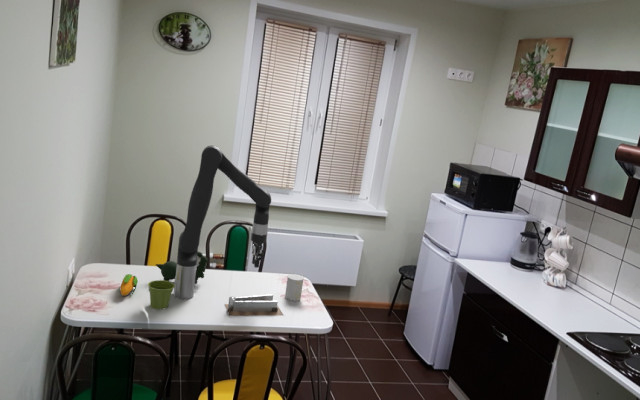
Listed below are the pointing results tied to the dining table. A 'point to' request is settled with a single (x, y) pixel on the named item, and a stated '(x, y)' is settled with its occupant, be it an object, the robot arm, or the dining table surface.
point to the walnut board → (253, 313)
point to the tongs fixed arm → (252, 306)
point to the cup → (294, 287)
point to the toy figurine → (170, 267)
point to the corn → (128, 284)
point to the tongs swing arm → (256, 298)
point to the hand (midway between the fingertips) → (255, 265)
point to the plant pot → (160, 293)
